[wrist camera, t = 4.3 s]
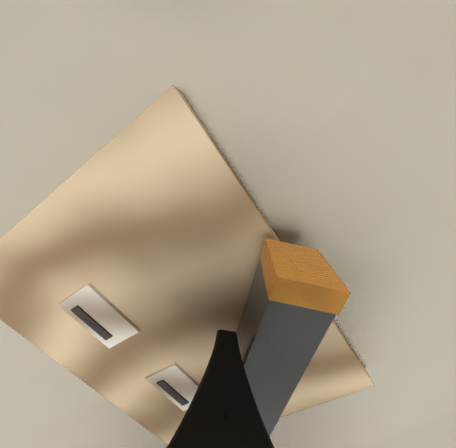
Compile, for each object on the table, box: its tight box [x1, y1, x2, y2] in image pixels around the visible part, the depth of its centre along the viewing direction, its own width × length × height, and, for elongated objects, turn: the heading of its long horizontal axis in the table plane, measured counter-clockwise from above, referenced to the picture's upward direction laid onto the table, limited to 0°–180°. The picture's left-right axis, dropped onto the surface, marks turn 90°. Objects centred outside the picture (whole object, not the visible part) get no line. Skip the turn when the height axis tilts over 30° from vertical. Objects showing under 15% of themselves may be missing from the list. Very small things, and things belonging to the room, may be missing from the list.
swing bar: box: [236, 238, 350, 436], centre depth 12 cm, size 19×3×3 cm, turn 167°
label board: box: [0, 85, 374, 445], centre depth 14 cm, size 22×18×2 cm
